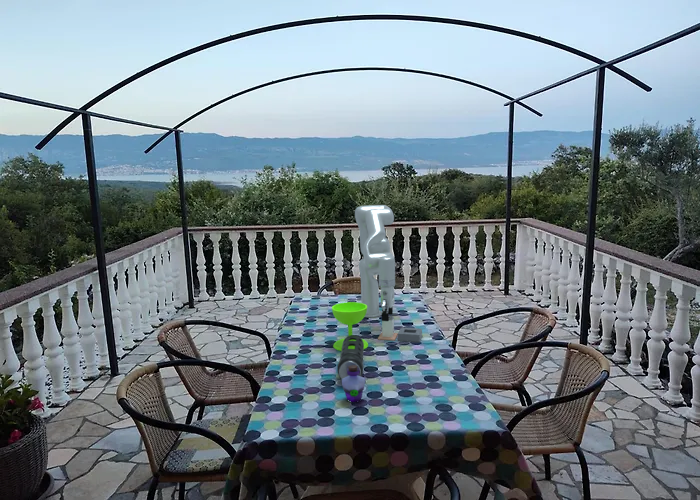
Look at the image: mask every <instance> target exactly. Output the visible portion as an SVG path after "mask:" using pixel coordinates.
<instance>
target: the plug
mask: <svg viewBox="0 0 700 500" xmlns="http://www.w3.org/2000/svg"><path fill="white" fill-rule="evenodd" d="M381 333H382V337H393V336H394V333H395V317H394V315H393V316H391V315H389V321H382V320H381Z"/></svg>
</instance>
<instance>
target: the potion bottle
mask: <svg viewBox="0 0 700 500" xmlns="http://www.w3.org/2000/svg"><path fill="white" fill-rule="evenodd" d="M348 368H349V369H347V375H349V376H347V377H345V378H342V379H341V386H342V389H343V392H344V394H345V398H347V400H349V401H351V402H357V401H360V400H361V398H362V399H363V391H364V390H365V386H366V377H363V376H358V375H359V369H358V368H357V365H351V366H349V367H348ZM361 401H362V400H361ZM361 401H360V402H361Z"/></svg>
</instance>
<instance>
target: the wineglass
mask: <svg viewBox="0 0 700 500" xmlns="http://www.w3.org/2000/svg"><path fill="white" fill-rule="evenodd" d="M331 311H332V312H331V313H332V314H333V317H334V318H335V319H336V321H337V322H339V323H341V324H343V325H347V333H348V334H347V335H348V336H350V335H354V334H353V333H354V332H353V325H356V324H359V323H360V322H362V321H363V319H364V318H366V317H365V315H366V312H367V305H365V304H363V303H362V302H356V301H349V302H339V303H336V304H334V305H332V306H331ZM348 336H347V337H348ZM345 338H346V337H344V338H341V339H338V340H336V341H335V342H334V343H333V345H332V347H333V349H335V351H336V350H337V351H340V352H341V350H342V345H343V341H344V339H345ZM361 339H362V340H363V343H364V350H365V349H367V348H368V347H369V343H368V342H367V341H366V340H365V339H363V338H361ZM349 341H356V340H349ZM348 349H355V346H349V347H348Z"/></svg>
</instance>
